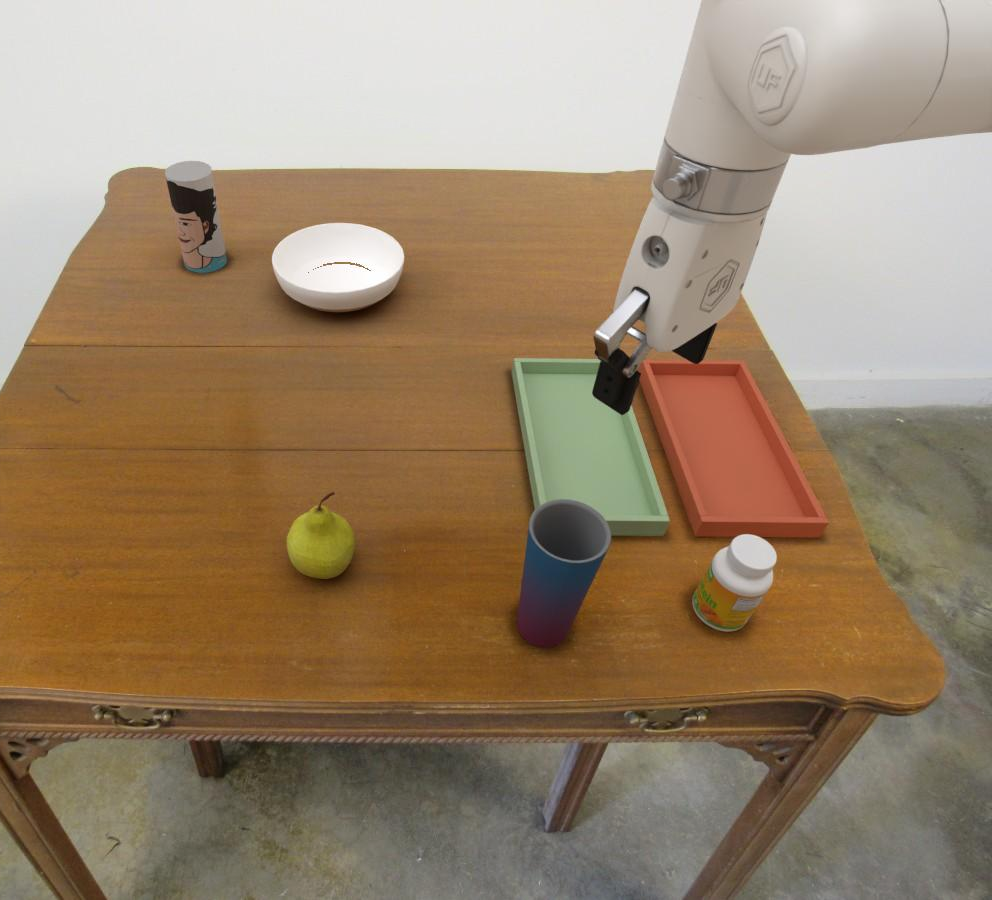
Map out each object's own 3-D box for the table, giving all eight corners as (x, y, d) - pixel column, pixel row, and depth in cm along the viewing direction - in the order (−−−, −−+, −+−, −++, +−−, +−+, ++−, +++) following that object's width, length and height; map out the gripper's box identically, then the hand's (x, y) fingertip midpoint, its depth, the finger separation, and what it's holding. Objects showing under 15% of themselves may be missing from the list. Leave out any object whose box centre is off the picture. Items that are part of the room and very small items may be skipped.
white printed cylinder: (186, 251, 121) (168, 161, 110) (228, 249, 121) (213, 160, 110) (181, 273, 116) (161, 182, 105) (225, 272, 116) (209, 180, 106)
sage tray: (663, 536, 80) (670, 521, 78) (538, 535, 80) (542, 519, 78) (611, 374, 100) (616, 358, 98) (511, 372, 100) (513, 357, 98)
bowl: (374, 341, 104) (373, 305, 100) (252, 310, 109) (246, 274, 105) (421, 272, 117) (423, 237, 113) (310, 247, 122) (308, 213, 117)
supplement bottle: (682, 589, 76) (713, 529, 69) (733, 584, 76) (768, 525, 69) (704, 635, 72) (738, 578, 65) (756, 630, 72) (796, 572, 65)
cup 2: (508, 591, 75) (529, 494, 64) (576, 600, 74) (608, 503, 64) (506, 651, 70) (528, 557, 60) (578, 661, 70) (614, 567, 59)
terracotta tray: (819, 537, 80) (829, 522, 79) (694, 536, 80) (702, 521, 78) (737, 375, 100) (744, 360, 98) (637, 374, 100) (641, 359, 98)
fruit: (277, 578, 76) (264, 502, 67) (309, 530, 80) (300, 453, 72) (337, 601, 74) (331, 526, 66) (366, 551, 78) (364, 474, 70)
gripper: (687, 240, 41) (617, 453, 54) (838, 157, 49) (748, 359, 62) (583, 191, 45) (540, 400, 58) (738, 122, 53) (672, 318, 66)
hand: (647, 378), depth 60 cm, fingers open, 9 cm apart
